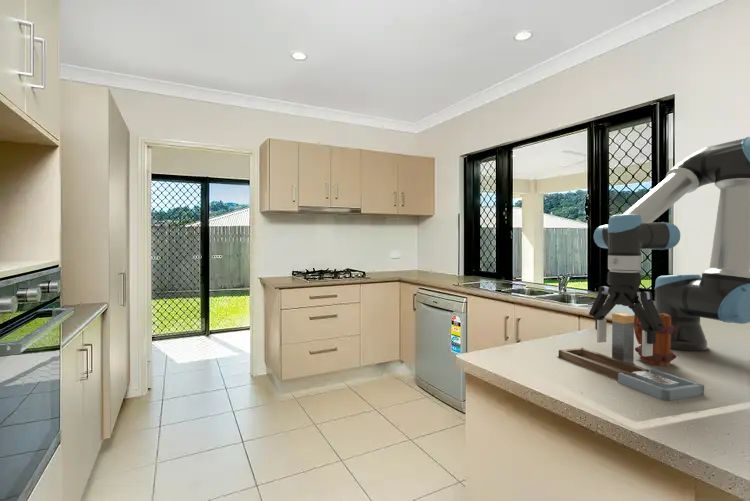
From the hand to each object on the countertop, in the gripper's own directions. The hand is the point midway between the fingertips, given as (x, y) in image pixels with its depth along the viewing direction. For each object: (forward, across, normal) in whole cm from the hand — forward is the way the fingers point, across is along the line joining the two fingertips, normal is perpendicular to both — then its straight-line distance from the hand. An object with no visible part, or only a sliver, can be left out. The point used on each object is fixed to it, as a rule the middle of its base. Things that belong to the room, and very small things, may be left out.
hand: (622, 348), depth 102 cm
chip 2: (+4, +17, -9) cm, 20 cm away
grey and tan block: (+5, 0, 0) cm, 5 cm away
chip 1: (+4, +13, -9) cm, 17 cm away
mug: (+5, 0, +10) cm, 11 cm away
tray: (+5, +16, -9) cm, 19 cm away
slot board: (+5, +1, -9) cm, 10 cm away
